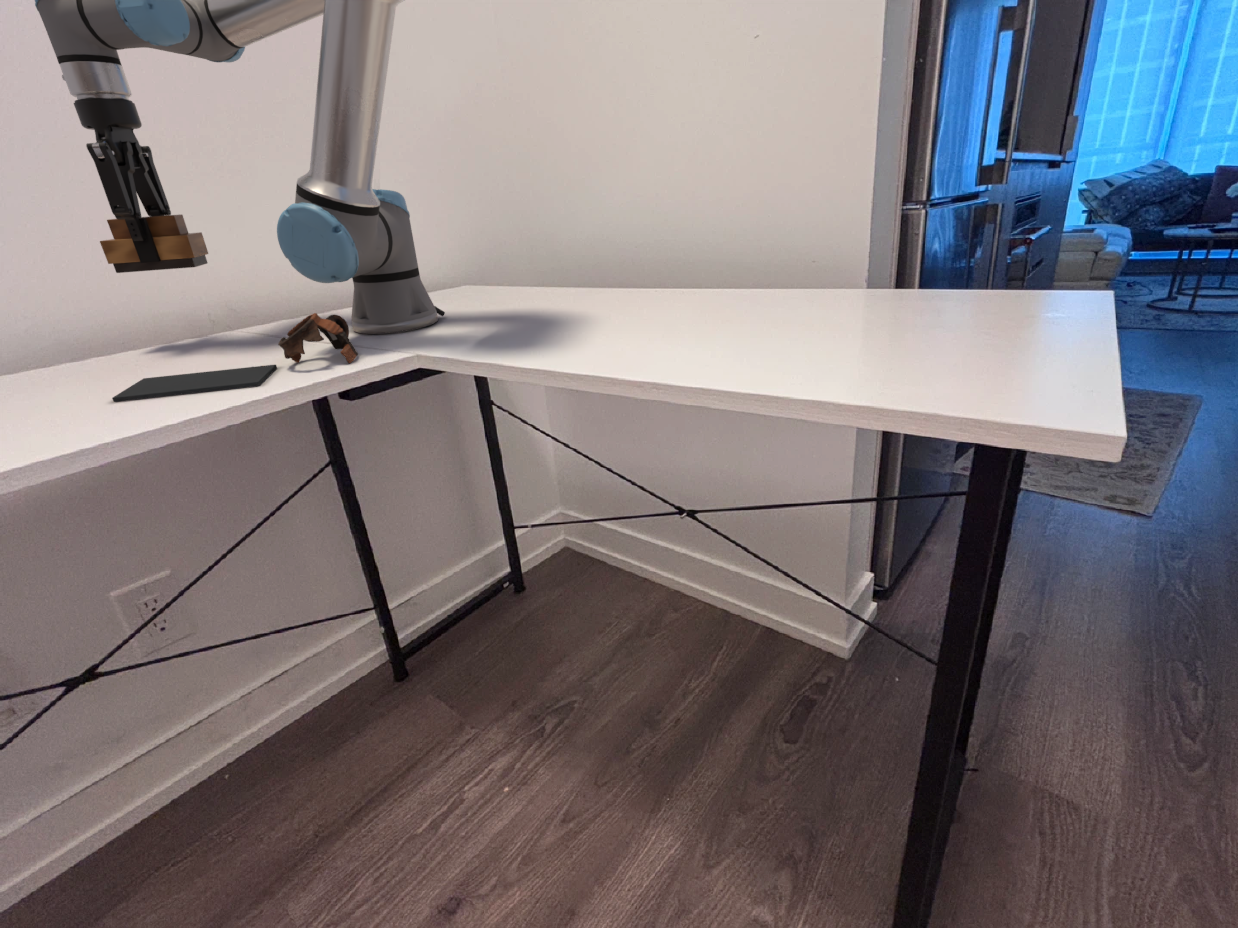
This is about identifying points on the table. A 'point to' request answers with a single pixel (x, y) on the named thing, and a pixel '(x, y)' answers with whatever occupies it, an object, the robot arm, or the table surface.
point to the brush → (168, 238)
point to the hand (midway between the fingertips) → (160, 259)
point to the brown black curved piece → (318, 336)
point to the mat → (196, 383)
